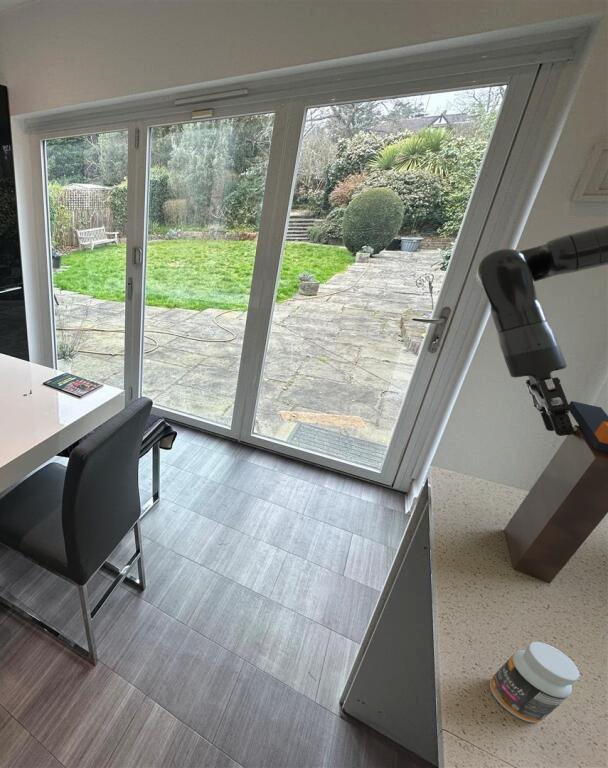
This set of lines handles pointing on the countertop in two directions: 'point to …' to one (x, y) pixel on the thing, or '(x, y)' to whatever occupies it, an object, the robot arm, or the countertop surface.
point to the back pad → (592, 424)
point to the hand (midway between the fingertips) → (560, 432)
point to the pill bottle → (534, 681)
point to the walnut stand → (559, 509)
